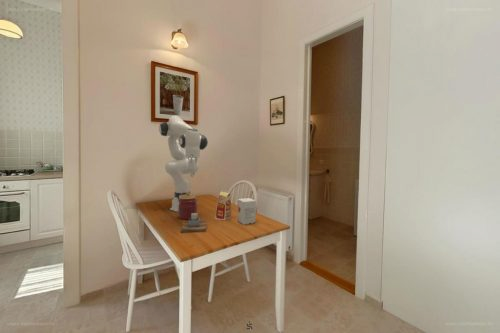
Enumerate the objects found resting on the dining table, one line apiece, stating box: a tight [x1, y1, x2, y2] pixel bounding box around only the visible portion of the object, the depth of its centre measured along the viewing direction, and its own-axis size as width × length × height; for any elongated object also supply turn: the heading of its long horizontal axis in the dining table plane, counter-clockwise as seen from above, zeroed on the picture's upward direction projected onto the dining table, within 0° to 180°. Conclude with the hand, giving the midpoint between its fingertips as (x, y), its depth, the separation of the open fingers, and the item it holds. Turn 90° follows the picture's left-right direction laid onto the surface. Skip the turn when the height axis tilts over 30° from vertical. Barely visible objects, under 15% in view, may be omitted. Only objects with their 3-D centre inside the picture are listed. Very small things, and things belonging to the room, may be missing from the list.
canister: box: [177, 192, 198, 220], centre depth 152 cm, size 13×13×18 cm
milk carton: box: [214, 189, 232, 221], centre depth 151 cm, size 9×9×20 cm
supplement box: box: [237, 197, 257, 226], centre depth 144 cm, size 9×9×15 cm
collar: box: [187, 216, 201, 227], centre depth 131 cm, size 6×6×4 cm
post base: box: [180, 212, 207, 234], centre depth 131 cm, size 14×14×8 cm
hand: (192, 176), depth 140 cm, fingers open, 8 cm apart
